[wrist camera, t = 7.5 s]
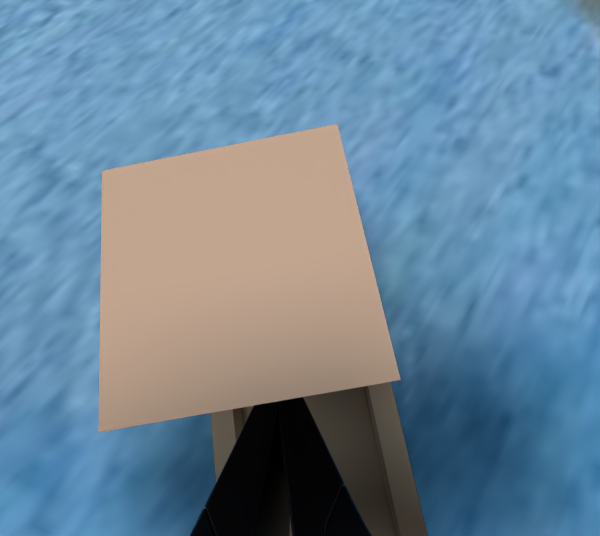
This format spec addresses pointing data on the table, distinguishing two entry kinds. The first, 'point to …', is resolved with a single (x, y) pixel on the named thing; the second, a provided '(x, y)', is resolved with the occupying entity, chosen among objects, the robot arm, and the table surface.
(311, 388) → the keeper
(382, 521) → the rail
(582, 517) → the table surface
